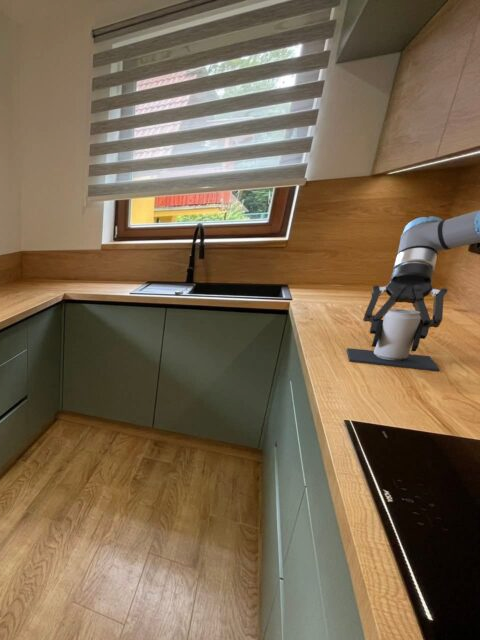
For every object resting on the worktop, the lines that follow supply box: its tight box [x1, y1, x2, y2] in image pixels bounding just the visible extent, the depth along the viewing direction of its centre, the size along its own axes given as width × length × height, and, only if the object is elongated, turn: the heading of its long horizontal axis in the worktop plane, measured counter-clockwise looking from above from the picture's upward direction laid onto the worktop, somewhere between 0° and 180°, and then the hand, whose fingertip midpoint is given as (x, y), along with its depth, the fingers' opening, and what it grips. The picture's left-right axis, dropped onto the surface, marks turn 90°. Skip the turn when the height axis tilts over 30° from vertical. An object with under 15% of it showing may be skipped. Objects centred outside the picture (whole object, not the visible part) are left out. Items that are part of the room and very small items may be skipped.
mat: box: [346, 347, 441, 372], centre depth 108 cm, size 16×12×1 cm
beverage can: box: [373, 308, 421, 360], centre depth 106 cm, size 6×6×12 cm
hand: (394, 345), depth 105 cm, fingers closed on beverage can, 6 cm apart
